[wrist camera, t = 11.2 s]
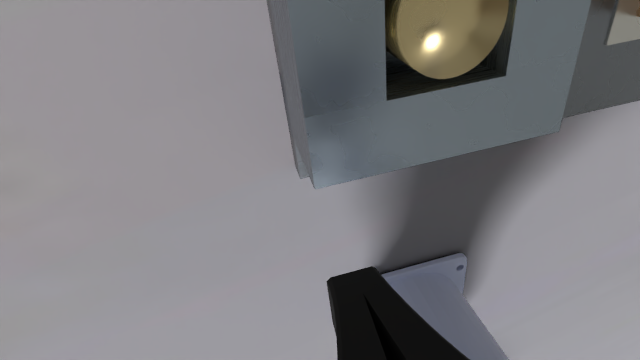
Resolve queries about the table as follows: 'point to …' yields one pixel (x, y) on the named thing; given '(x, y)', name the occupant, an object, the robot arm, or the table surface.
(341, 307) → the robot arm
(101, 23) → the table surface
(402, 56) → the pin
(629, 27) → the base
